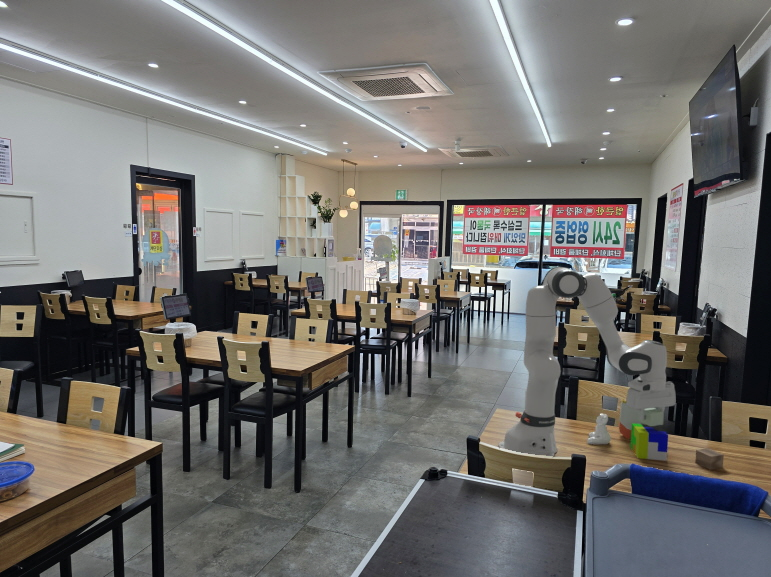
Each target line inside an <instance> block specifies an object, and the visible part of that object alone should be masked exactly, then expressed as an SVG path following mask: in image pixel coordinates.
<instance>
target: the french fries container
mask: <svg viewBox="0 0 771 577" xmlns="http://www.w3.org/2000/svg"><path fill="white" fill-rule="evenodd" d="M626 402H627V396H626V399H625V398H622V401H621V402H620V413H619V422H618V423H619V425H618V430H619V431H618V432H619V433H620V434H622V436H623V437H624V438H626V439H627V440H628V439H629V440H631V428H632V423H634V424H644V423H642V422H640V421H638V411H637V410H633V409H630V408H628V406H627V403H626Z"/></svg>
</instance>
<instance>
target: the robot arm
mask: <svg viewBox="0 0 771 577" xmlns="http://www.w3.org/2000/svg"><path fill="white" fill-rule="evenodd" d="M576 297H577V299H578V300H579V301H580V302H581V305H582V307H583V309H584V311H585V312H586V315H588V317H589V319H590V320H591V321H592V322H593V324H594V326H595V327H596V328H597V331H598V333H599V335H600V337H601V339H602V341H603V343H604V346H605V354H606V355H605V357H606V360H607V362H608V364H609V365H610V366H611V367H612V368H615V369H617V370H618V371H620V372H621V373H623V374H625V375H628V376H638V377H636V378H634V379H631V380H630V381H628V383H627V387H628V389H627V393H626V397H627V402H626V403H627V406H628V408H630V409H633V410H637V411H638V413H639V414H640V416H639V418H640V419H641V420H646V415H644V413H643V412H644V409H648V408H656V409H658V410H661V411H663V412H665V410H666V407H674V406H675V404H676V401H677V400H676V398H677V397H676V388H675V384H674V383H673V381H667V374H666V369H667V366H668V353H667V352H668V351H667V347H666V345H665V344H664V343H661V342H659V341H656V340H651V339H645V340H642V342H640V343H639V344H637V345H635V346H631V347H630V346H628V344H626V343H625V342H624V341H623V340H622V338H621V336H620V334H619V332H618V330H617V327H616V325H615V322H614V321H615V319H616V317H617V315H618V314H619V313H618V312H619V309H618V305H617V302H616V300H615V297H614V296H613V294H612V292H611V290H610V288H609V287H608V286H607V284H606V282H604V280H603V279H602V278H601V276H600V275H599V274H597V273H593V272H590V273H585V274H583V275H582V274H581V273H578V272H577V271H576V270H574V269H571V268H569V267H563V266H557V267H556V266H555V267H552V268H551V269H549V270H548V271H547V272H546V273H545V275H544V277H543V279H542V281H541V283H540V285H537V286H533V287H531V288H530V289H528V291H527V296H526V301H525V339H524V347H523V348H524V349H523V350H524V351H523V364H524V367H525V368H526V370H527V372H528V380H527V386H526V389H525V393H524V410H523V412H522V413H521V412H519V411H517V412H515V417H516V418H517V419H519V421H518V422H517V423H515V424H514V425H512V426H511V428H509V429H508V430H507V431H506V433H505V436H504V441H503V440H502V441H501V442H500V441H499V442H498V448H499V447H501V448H505V449H508V450H512V451H516V452H521V453H528V454H535V455H546V456H554V457H555V454H556V453H557V451H558V448H557V442H556V436H555V425H556V414H555V405H556V392H557V388H558V382H559V378H560V376H561V372H562V370H561V369H562V368H561V365H560V363H559V360H558V359H557V358H556V356H554V353H553V352H554V351H553V350H554V343H555V338H556V336H557V323H556V322H557V321H556V320H557V318H556V317H557V316H556V315H557V312H556V305H557V301H558V299H559V298H563V299H570V298H576Z"/></svg>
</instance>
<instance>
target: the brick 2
mask: <svg viewBox="0 0 771 577" xmlns="http://www.w3.org/2000/svg"><path fill="white" fill-rule="evenodd" d="M724 456H725V455H724V454H723V453H721V452H718V451H716V450H713V449H711V448H701V449H696V450H695V460H694V461H695V462H694V463H695V464H697V465H699V466H701V467H703V468H705V469H708V470H709V471H711V470H717V469H723V468H724Z"/></svg>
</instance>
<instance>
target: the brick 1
mask: <svg viewBox="0 0 771 577" xmlns="http://www.w3.org/2000/svg"><path fill="white" fill-rule="evenodd" d="M658 409H659V408H648V409H644V412H643V413H644V415H646V420H641V419H640V418H639V416H640V414H639V413H638V421H640V422H642V423H644V424H646V425H649V426H656V425H659V426H663V425H664V414H665V411H661V410H658Z"/></svg>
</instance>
